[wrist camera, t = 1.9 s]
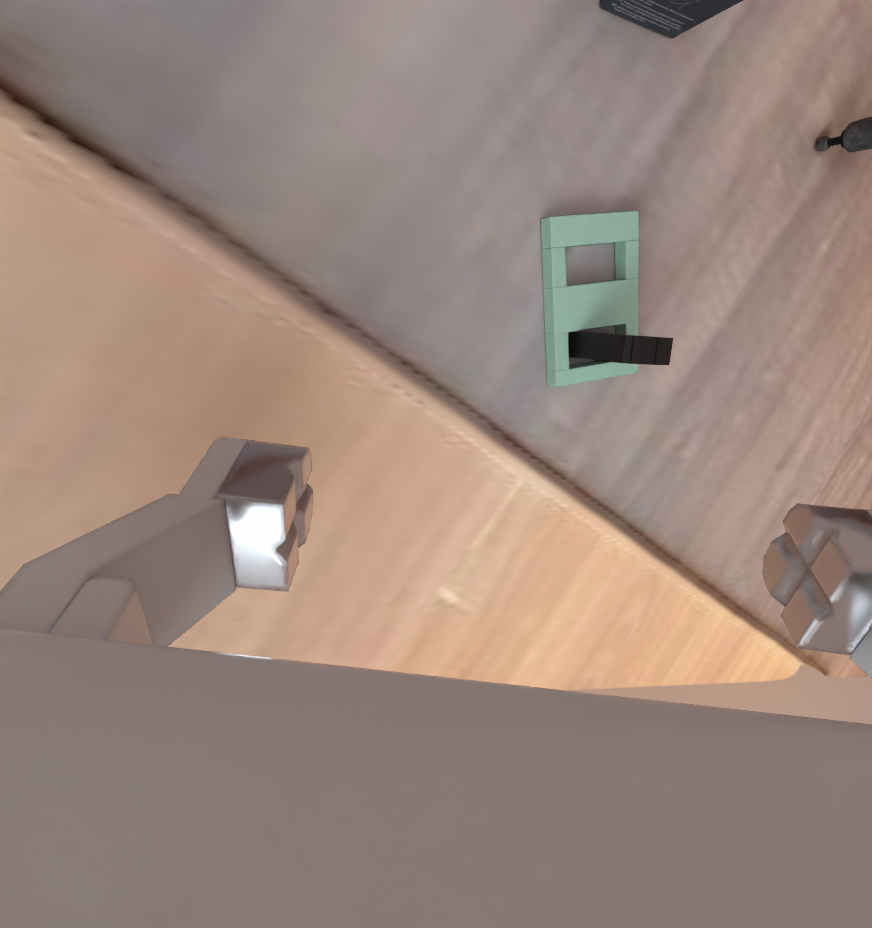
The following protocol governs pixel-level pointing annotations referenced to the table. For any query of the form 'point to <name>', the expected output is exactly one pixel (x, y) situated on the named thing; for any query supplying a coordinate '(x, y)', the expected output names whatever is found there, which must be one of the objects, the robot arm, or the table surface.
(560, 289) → the holder
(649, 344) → the ink cartridge
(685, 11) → the box
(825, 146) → the microphone
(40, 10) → the table surface
